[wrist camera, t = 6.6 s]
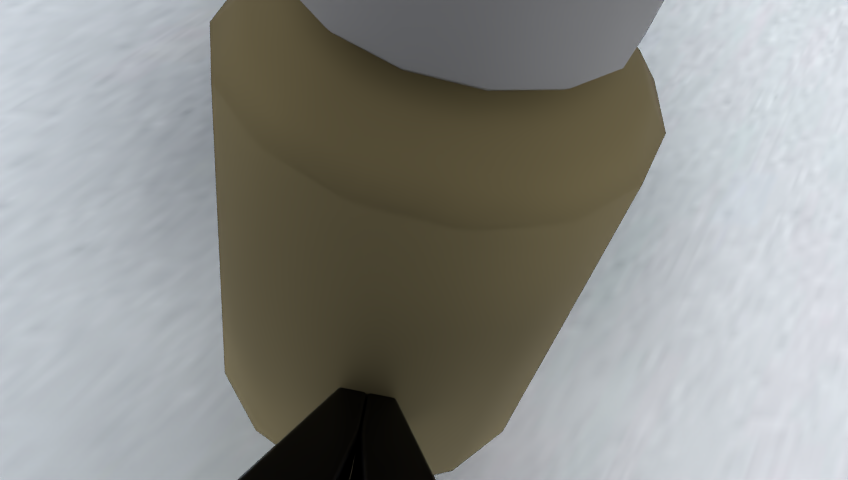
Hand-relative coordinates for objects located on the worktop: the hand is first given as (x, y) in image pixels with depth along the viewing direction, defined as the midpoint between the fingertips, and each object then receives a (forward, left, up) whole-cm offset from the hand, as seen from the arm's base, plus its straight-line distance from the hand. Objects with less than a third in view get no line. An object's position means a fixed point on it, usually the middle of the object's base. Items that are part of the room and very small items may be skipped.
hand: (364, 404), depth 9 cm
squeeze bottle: (0, -1, -8) cm, 8 cm away
